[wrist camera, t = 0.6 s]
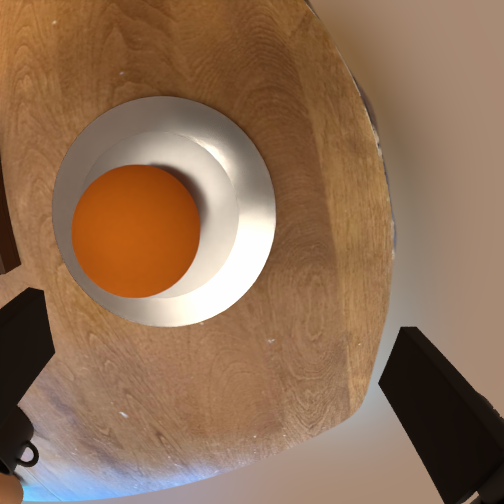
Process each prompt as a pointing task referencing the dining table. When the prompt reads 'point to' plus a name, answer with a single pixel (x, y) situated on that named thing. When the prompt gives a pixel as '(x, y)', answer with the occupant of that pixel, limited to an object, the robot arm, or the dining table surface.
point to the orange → (135, 231)
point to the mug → (16, 442)
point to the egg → (10, 490)
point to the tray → (6, 236)
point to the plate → (200, 188)
